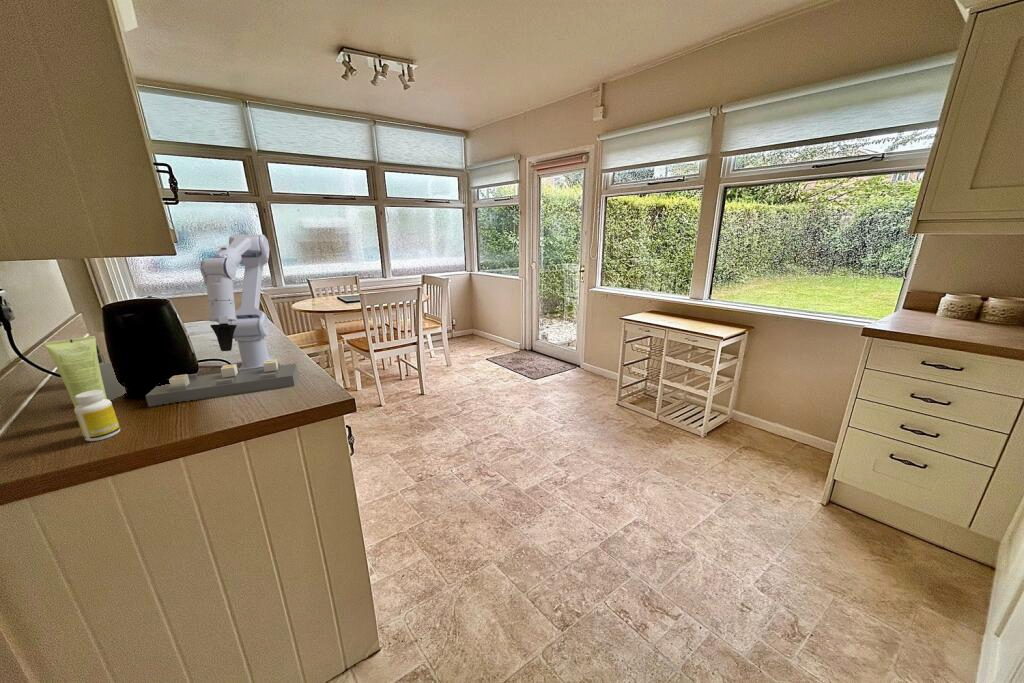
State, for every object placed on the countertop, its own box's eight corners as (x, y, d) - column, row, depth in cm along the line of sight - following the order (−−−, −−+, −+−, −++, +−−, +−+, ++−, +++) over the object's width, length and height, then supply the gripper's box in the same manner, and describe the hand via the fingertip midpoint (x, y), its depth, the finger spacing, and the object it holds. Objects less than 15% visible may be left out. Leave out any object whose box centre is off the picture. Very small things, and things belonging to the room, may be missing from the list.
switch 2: (266, 368, 111) (264, 360, 110) (278, 367, 112) (276, 358, 111) (264, 372, 108) (263, 363, 108) (277, 370, 109) (275, 361, 109)
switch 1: (175, 384, 100) (173, 375, 99) (189, 382, 101) (187, 373, 100) (171, 389, 97) (168, 379, 96) (185, 387, 98) (183, 377, 97)
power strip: (166, 390, 104) (162, 376, 103) (298, 372, 116) (295, 360, 115) (148, 406, 94) (144, 392, 93) (294, 385, 107) (292, 372, 106)
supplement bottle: (128, 429, 84) (114, 388, 81) (100, 442, 79) (84, 399, 76) (106, 428, 84) (92, 387, 82) (77, 441, 79) (61, 398, 76)
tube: (99, 413, 91) (71, 335, 86) (120, 413, 91) (94, 335, 86) (73, 425, 86) (42, 342, 80) (96, 425, 86) (67, 342, 80)
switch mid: (225, 373, 107) (223, 365, 106) (238, 372, 108) (236, 363, 107) (222, 377, 104) (220, 368, 104) (235, 375, 106) (233, 367, 105)
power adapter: (95, 402, 97) (79, 358, 94) (117, 394, 102) (103, 351, 99) (106, 403, 97) (91, 358, 93) (128, 394, 102) (114, 351, 99)
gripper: (204, 304, 108) (208, 352, 108) (201, 299, 96) (206, 352, 97) (234, 304, 112) (239, 349, 112) (235, 298, 100) (240, 350, 101)
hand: (226, 351), depth 105 cm, fingers open, 7 cm apart
